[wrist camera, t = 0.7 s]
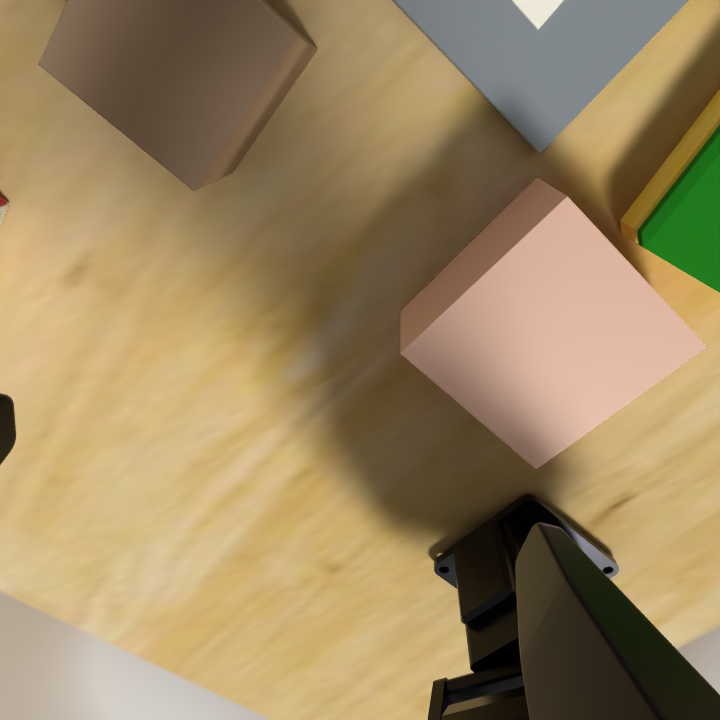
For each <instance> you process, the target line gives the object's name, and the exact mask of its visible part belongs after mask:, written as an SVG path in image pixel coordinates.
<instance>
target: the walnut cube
mask: <svg viewBox="0 0 720 720" xmlns="http://www.w3.org/2000/svg"><path fill="white" fill-rule="evenodd" d="M317 50H318V48H317V47H316V46H315V45H314V44H312V43H311V42H310V41H309V40H308V39H307V38H306V37H305V36H304V35H303V34H302V33H301V32H300V31H299V30H298V29H297V28H296V27H295V26H294V25H293V24H292V23H291V22H289V21H288V20H287V19H286V18H285V17H284V16H283V15H282V14H281V13H280V12H279V11H278V10H277V9H276V8H275V7H274V6H273V5H272V4H271V3H270V2H269V1H268V0H68V1H67V4H66V6H65V8H64V10H63V12H62V14H61V16H60V19H59V21H58V23H57V25H56V27H55V29H54V32H53V34H52V36H51V38H50V40H49V42H48V44H47V47H46V49H45V51H44V53H43V55H42V57H41V59H40V62H39V64H38V65H39V66H41V67H42V68H43V69H44V70H46V71H47V72H48V73H49V74H51V75H52V76H53V77H54V78H55V79H57V80H58V81H59V82H60V83H62V84H63V85H64V86H65V87H67V88H68V89H69V90H70V91H71V92H73V93H74V94H75V95H76V96H78V97H79V98H80V99H81V100H83V101H84V102H85V103H86V104H87V105H89V106H90V107H91V108H92V109H94V110H95V111H96V112H97V113H98V114H100V115H101V116H102V117H103V118H105V119H106V120H107V121H108V122H110V123H111V124H112V125H113V126H114V127H116V128H117V129H118V130H119V131H121V132H122V133H123V134H124V135H126V136H127V137H128V138H129V139H130V140H132V141H133V142H134V143H135V144H137V145H138V146H139V147H140V148H142V149H143V150H144V151H145V152H146V153H148V154H149V155H150V156H151V157H153V158H154V159H155V160H156V161H158V162H159V163H160V164H161V165H162V166H164V167H165V168H166V169H167V170H169V171H170V172H171V173H172V174H174V175H175V176H176V177H177V178H178V179H180V180H181V181H182V182H183V183H185V184H186V185H187V186H188V187H190V188H191V189H192V190H193V191H195V190H197V189H199V188H201V187H203V186H205V185H207V184H210V183H212V182H214V181H216V180H218V179H220V178H222V177H224V176H227V175H229V174H231V173H232V172H233V171H234V169H235V168H236V167H237V165H238V164H239V162H240V161H241V159H242V158H243V157H244V155H245V154H246V152H247V151H248V149H249V148H250V146H251V145H252V144H253V142H254V141H255V139H256V138H257V136H258V135H259V133H260V132H261V131H262V129H263V128H264V126H265V125H266V123H267V122H268V120H269V119H270V118H271V116H272V115H273V113H274V112H275V110H276V109H277V107H278V106H279V105H280V103H281V102H282V100H283V99H284V97H285V96H286V94H287V93H288V92H289V90H290V89H291V87H292V86H293V84H294V83H295V81H296V80H297V79H298V77H299V76H300V74H301V73H302V71H303V70H304V68H305V67H306V66H307V64H308V63H309V61H310V60H311V58H312V57H313V55H314V54H315V53H316V51H317Z"/></svg>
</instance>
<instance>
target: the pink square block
mask: <svg viewBox="0 0 720 720" xmlns="http://www.w3.org/2000/svg"><path fill="white" fill-rule="evenodd" d="M706 347H707V346H706V345H705V344H704V343H703V342H702V341H701V339H700V338H699V337H698V336H697V335H696V334H695V333H694V332H693V331H692V330H691V329H690V328H689V327H688V325H687V324H686V323H685V322H684V321H683V320H682V319H681V318H680V317H679V316H678V315H677V314H676V313H675V311H674V310H673V309H672V308H671V307H670V306H669V305H668V304H667V303H666V302H665V301H664V300H663V299H662V297H661V296H660V295H659V294H658V293H657V292H656V291H655V290H654V289H653V288H652V287H651V286H650V285H649V283H648V282H647V281H646V280H645V279H644V278H643V277H642V276H641V275H640V274H639V273H638V272H637V271H636V269H635V268H634V267H633V266H632V265H631V264H630V263H629V262H628V261H627V260H626V259H625V258H624V257H623V255H622V254H621V253H620V252H619V251H618V250H617V249H616V248H615V247H614V246H613V245H612V244H611V243H610V241H609V240H608V239H607V238H606V237H605V236H604V235H603V234H602V233H601V232H600V231H599V230H598V229H597V227H596V226H595V225H594V224H593V223H592V222H591V221H590V220H589V219H588V218H587V217H586V216H585V214H584V213H583V212H582V211H581V210H580V209H579V208H578V207H577V206H576V205H575V204H574V203H573V202H572V200H571V199H570V198H569V197H568V196H566V195H565V194H563V193H562V192H560V191H558V190H557V189H555V188H553V187H552V186H550V185H549V184H547V183H545V182H544V181H542V180H541V179H539V178H535V179H534V180H533V181H532V182H531V183H530V184H529V185H528V186H527V187H526V188H525V189H524V190H523V191H522V192H521V193H520V194H519V195H518V196H517V197H516V198H515V199H514V200H513V201H512V202H511V203H510V204H509V205H508V206H507V207H506V208H505V209H504V210H503V211H502V212H501V213H500V214H499V215H498V216H497V217H496V218H495V219H494V220H493V221H492V222H491V223H490V224H489V225H488V226H487V227H486V228H485V229H484V230H483V231H482V232H481V233H480V234H479V235H478V236H476V237H475V238H474V239H473V240H472V241H471V242H470V243H469V244H468V245H467V246H466V247H465V248H464V249H463V250H462V251H461V252H460V253H459V254H458V255H457V256H456V257H455V258H454V259H453V260H452V261H451V262H450V263H449V264H448V265H447V266H446V267H445V268H444V269H443V270H442V271H441V272H440V273H439V274H438V275H437V276H436V277H435V278H434V279H433V280H432V281H431V282H430V283H429V284H428V285H427V286H426V287H425V288H424V289H423V290H422V291H421V292H420V293H419V294H417V295H416V296H415V297H414V298H413V299H412V300H411V301H410V302H409V303H408V304H407V305H406V306H405V307H404V308H403V309H402V310H401V311H400V354H401V355H403V356H404V357H405V358H406V359H407V360H408V361H410V362H411V363H412V364H413V365H414V366H415V367H417V368H418V369H419V370H420V371H421V372H422V373H424V374H425V375H426V376H427V377H428V378H429V379H431V380H432V381H433V382H434V383H435V384H437V385H438V386H439V387H440V388H441V389H442V390H444V391H445V392H446V393H447V394H448V395H449V396H451V397H452V398H453V399H454V400H455V401H456V402H458V403H459V404H460V405H461V406H462V407H463V408H465V409H466V410H467V411H468V412H469V413H470V414H472V415H473V416H474V417H475V418H476V419H478V420H479V421H480V422H481V423H482V424H483V425H485V426H486V427H487V428H488V429H489V430H490V431H492V432H493V433H494V434H495V435H496V436H497V437H499V438H500V439H501V440H502V441H503V442H504V443H506V444H507V445H508V446H509V447H510V448H511V449H513V450H514V451H515V452H516V453H517V454H519V455H520V456H521V457H522V458H523V459H524V460H526V461H527V462H528V463H529V464H530V465H531V466H533V467H534V468H535V469H538V468H539V467H540V466H542V465H543V464H545V463H546V462H547V461H549V460H550V459H552V458H553V457H554V456H556V455H557V454H559V453H560V452H561V451H563V450H564V449H566V448H567V447H568V446H570V445H571V444H573V443H574V442H575V441H577V440H578V439H580V438H581V437H582V436H584V435H585V434H587V433H588V432H589V431H591V430H592V429H593V428H595V427H596V426H598V425H599V424H600V423H602V422H603V421H605V420H606V419H607V418H609V417H610V416H612V415H613V414H614V413H616V412H617V411H619V410H620V409H621V408H623V407H624V406H626V405H627V404H628V403H630V402H631V401H633V400H634V399H635V398H637V397H638V396H640V395H641V394H642V393H644V392H645V391H646V390H648V389H649V388H651V387H652V386H653V385H655V384H656V383H658V382H659V381H660V380H662V379H663V378H665V377H666V376H667V375H669V374H670V373H672V372H673V371H674V370H676V369H677V368H679V367H680V366H681V365H683V364H684V363H686V362H687V361H688V360H690V359H691V358H693V357H694V356H695V355H697V354H698V353H699V352H701V351H702V350H704V349H705V348H706Z"/></svg>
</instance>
